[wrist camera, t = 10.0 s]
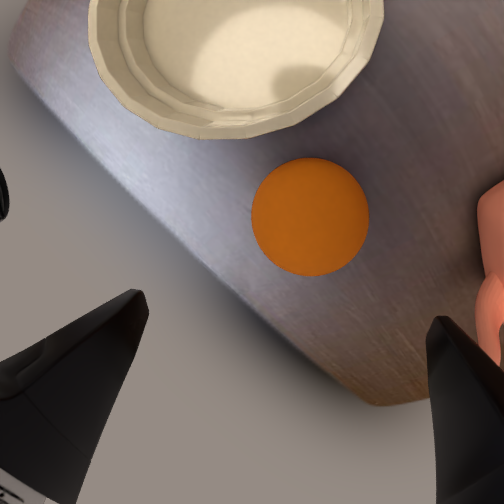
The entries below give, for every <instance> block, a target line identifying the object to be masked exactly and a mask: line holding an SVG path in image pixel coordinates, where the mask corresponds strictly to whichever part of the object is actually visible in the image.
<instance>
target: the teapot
mask: <svg viewBox="0 0 504 504" xmlns="http://www.w3.org/2000/svg"><path fill="white" fill-rule="evenodd" d="M477 219H478V229H479V237H480V245H481V253H482V260H483V265H484V271H485V276H486V278H485V280H484V281H483V283H482V285H481V287H480V289H479V292H478V294H477V298H476V303H475V321H476V330H477V336H478V343H479V346H480V347H481V348H482V349H483V350H484V351H485V352H486V354H487V355H488V356H489V357H490V358H491V359H492V360H493V361H494V362H495V363H496V364H497V365H498V366H499V364H500V359H501V349H500V341H499V329H500V327H501V325H502V323H503V325H504V180H503V181H501V182H500V183H498V184H497V185H495V186H494V187H493V188H491V189H490V190H488V191H487V192H486V193H485V194H483V195H482V196H481V197H480V199H479V202H478V206H477Z"/></svg>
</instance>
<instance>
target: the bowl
mask: <svg viewBox="0 0 504 504" xmlns="http://www.w3.org/2000/svg"><path fill="white" fill-rule="evenodd" d="M383 22H384V3H383V0H91V1H90V5H89V10H88V38H89V47H90V50H91V53H92V56H93V59H94V62H95V65H96V67H97V70H98V73H99V76H100V78H101V79H102V81H103V82H104V83H105V84H106V86H107V87H108V88H109V89H110V91H111V92H112V93H113V94H114V96H115V97H116V98H117V99H118V101H119V102H120V103H121V104H122V105H123V106H124V107H125V108H126V109H128V110H129V111H131V112H132V113H134V114H136V115H137V116H139V117H140V118H142V119H144V120H145V121H147V122H148V123H150V124H151V125H153V126H154V127H156V128H158V129H161V130H165V131H168V132H172V133H176V134H180V135H183V136H187V137H191V138H194V139H198V140H213V139H250V138H253V137H256V136H259V135H263V134H266V133H269V132H273V131H276V130H280V129H283V128H287V127H290V126H294V125H295V124H298V123H300V122H301V121H303V120H304V119H306V118H307V117H309V116H311V115H312V114H314V113H315V112H317V111H318V110H320V109H322V108H323V107H325V106H326V105H328V104H330V103H331V102H333V101H335V100H336V99H338V97H340V96H341V95H342V93H343V92H344V91H345V90H346V89H347V87H348V86H349V85H350V84H351V83H352V81H353V80H354V79H355V78H356V77H357V75H358V74H359V73H360V72H361V71H362V70H363V68H364V67H365V66H366V65H367V64H368V63H369V60H370V59H371V56H372V53H373V50H374V48H375V45H376V42H377V39H378V36H379V33H380V30H381V27H382V24H383Z"/></svg>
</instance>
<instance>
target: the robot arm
mask: <svg viewBox="0 0 504 504" xmlns="http://www.w3.org/2000/svg"><path fill="white" fill-rule="evenodd" d="M2 219H4V213H3V210H2V207H1V203H0V221H1V220H2ZM148 316H149V309H148V306H147V302H146V299H145V295H144V293H143V291H141V290H136V289H130V290H128V291H126V292H124V293H122V294H121V295H119V296H117V297H115V298H114V299H112V300H110V301H108V302H106V303H105V304H103V305H101V306H99V307H98V308H96V309H94V310H92V311H91V312H89V313H87V314H85V315H84V316H82V317H80V318H78V319H77V320H75V321H73V322H71V323H70V324H68V325H66V326H64V327H63V328H61V329H59V330H58V331H56V332H54V333H53V334H51V335H49V336H47V337H46V339H45V338H44V339H42V340H41V341H39V342H37V343H35V344H34V345H32V346H30V347H28V348H27V349H25V350H23V351H21V352H19V353H17V354H15V355H13V356H11V357H9V358H7V359H6V360H3V361H1V362H0V504H44V502H45V500H46V497H47V498H49V499H51V500H53V501H55V502H57V503H59V504H76V501H77V498H78V495H79V493H80V490H81V487H82V484H83V482H84V479H85V476H86V473H87V471H88V468H89V465H90V463H91V459H92V457H93V454H94V452H95V449H96V447H97V444H98V442H99V439H100V437H101V434H102V431H103V429H104V426H105V424H106V422H107V419H108V417H109V415H110V412H111V410H112V407H113V405H114V403H115V400H116V398H117V395H118V393H119V391H120V389H121V386H122V384H123V381H124V380H125V377H126V375H127V372H128V371H129V368H130V366H131V364H132V362H133V359H134V357H135V354H136V352H137V349H138V346H139V343H140V340H141V337H142V334H143V331H144V328H145V325H146V322H147V319H148ZM426 353H427V369H428V386H429V394H430V402H431V409H432V418H433V429H434V441H435V457H436V504H504V371H503V370H502V369H501V368H500V367H499V366H498V365H497V364H496V363H495V362H494V361H493V360H492V359H491V358H490V357H489V356H488V355H487V354H486V352H485V351H484V350H483V349H482V348H481V347H480V346H479V345H478V344H477V343H476V342H475V341H473V340H472V339H471V338H470V337H469V336H468V335H467V334H466V333H465V332H464V331H463V330H462V329H461V328H460V327H459V326H458V325H457V324H456V323H455V322H454V321H453V320H452V319H451V318H450V317H448V316H436V317H435V318H434V320H433V322H432V324H431V327H430V329H429V331H428V333H427V336H426Z"/></svg>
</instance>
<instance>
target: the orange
mask: <svg viewBox="0 0 504 504" xmlns="http://www.w3.org/2000/svg"><path fill="white" fill-rule="evenodd" d="M251 221H252V228H253V232H254V236H255V238H256V241H257V243H258V245H259V247H260V248H261V250H262V251H263V252H264V254H265V255H266V256H267V257H268V258H269V259H270V260H271V261H272V262H273V263H274V264H275V265H277V266H278V267H280V268H282V269H284V270H286V271H288V272H291V273H293V274H297V275H302V276H320V275H325V274H328V273H331V272H334V271H336V270H338V269H340V268H342V267H343V266H345V265H346V264H347V263H348V262H350V261H351V260H352V259H353V258H354V256H355V255H356V254H357V253H358V251H359V250H360V248H361V247H362V245H363V243H364V241H365V238H366V235H367V232H368V226H369V209H368V204H367V200H366V197H365V194H364V192H363V190H362V188H361V186H360V185H359V183H358V182H357V181H356V179H355V178H354V177H353V176H352V175H351V174H350V173H349V172H348V171H346V170H345V169H344V168H342V167H341V166H339V165H337V164H335V163H333V162H330V161H328V160H324V159H320V158H300V159H295V160H292V161H289V162H287V163H284V164H282V165H280V166H279V167H277V168H276V169H274V170H273V171H272V172H271V173H270V174H269V175H268V176H267V177H266V178H265V179H264V180H263V182H262V183H261V185H260V186H259V188H258V190H257V192H256V194H255V197H254V200H253V204H252V211H251Z"/></svg>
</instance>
